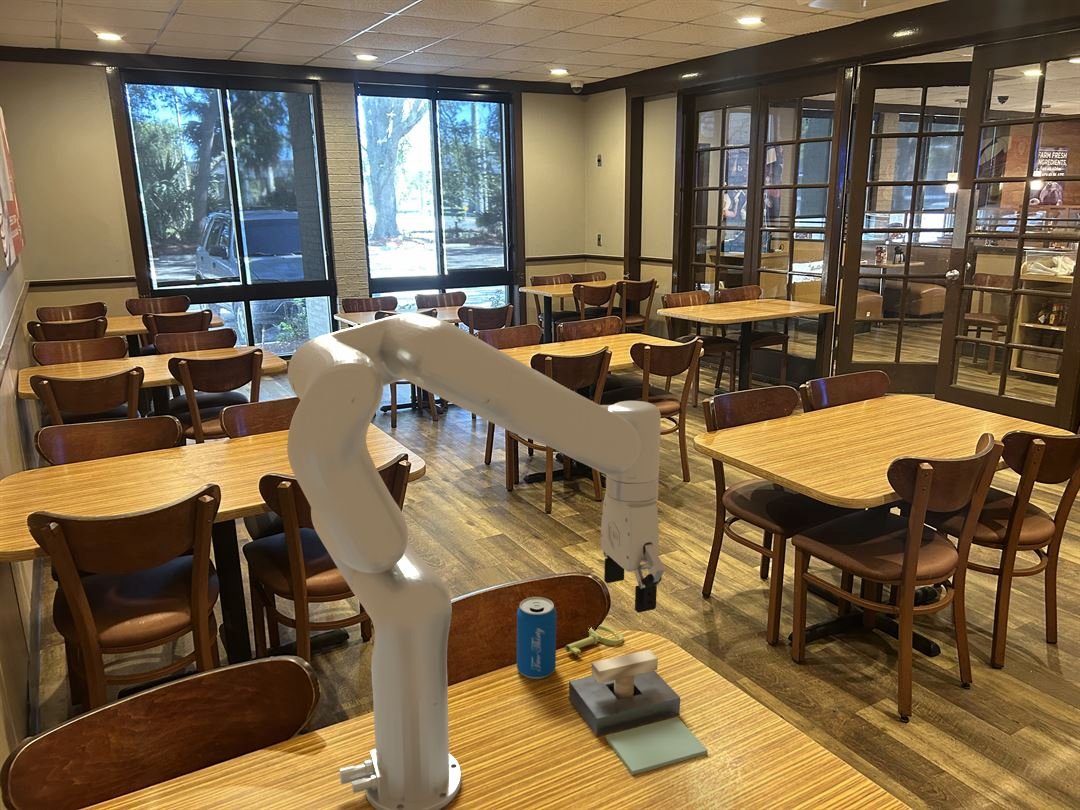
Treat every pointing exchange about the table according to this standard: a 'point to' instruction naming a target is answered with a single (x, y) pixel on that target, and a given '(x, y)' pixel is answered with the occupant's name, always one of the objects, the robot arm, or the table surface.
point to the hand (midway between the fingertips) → (629, 595)
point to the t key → (624, 671)
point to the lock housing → (623, 703)
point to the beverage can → (536, 637)
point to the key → (592, 639)
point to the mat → (655, 745)
